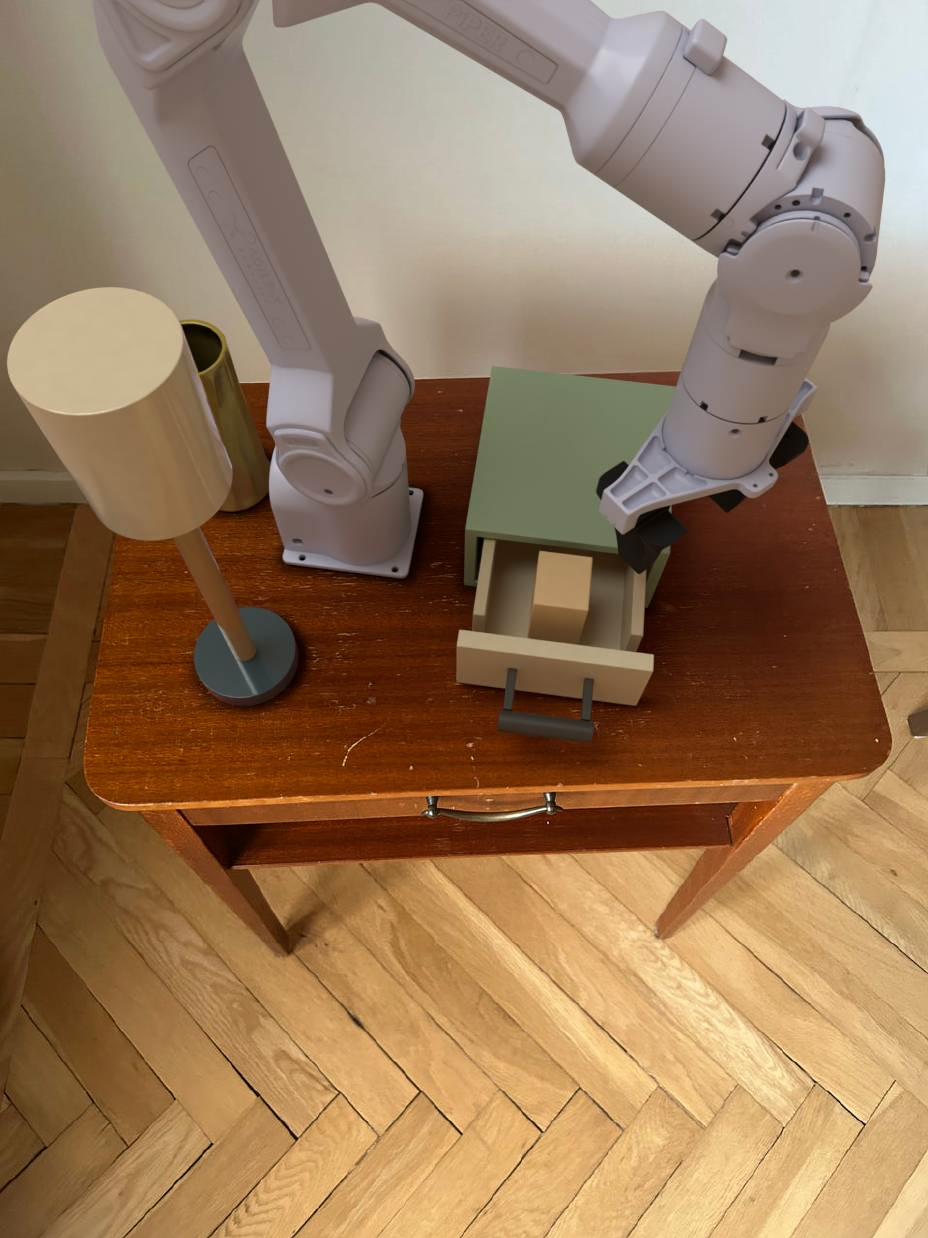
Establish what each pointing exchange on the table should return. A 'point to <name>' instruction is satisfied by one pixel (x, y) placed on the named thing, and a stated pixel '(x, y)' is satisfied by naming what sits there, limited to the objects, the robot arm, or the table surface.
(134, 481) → the lamp
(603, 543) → the cabinet
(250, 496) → the vase
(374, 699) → the table surface
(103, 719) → the table surface
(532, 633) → the tan wooden block
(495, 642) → the drawer
